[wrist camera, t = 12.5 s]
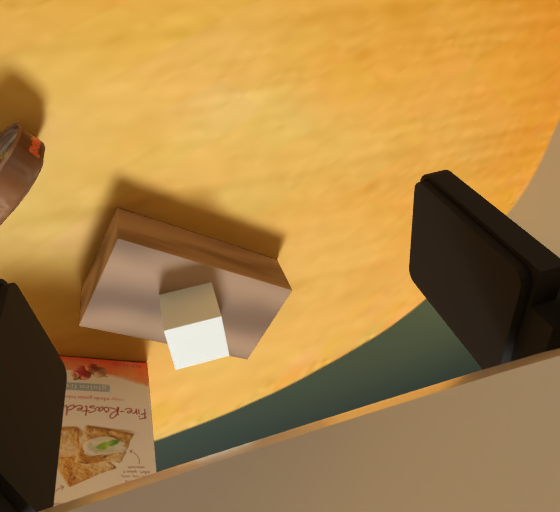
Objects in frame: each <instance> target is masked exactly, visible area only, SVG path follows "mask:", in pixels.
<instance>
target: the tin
mask: <svg viewBox="0 0 560 512" xmlns="http://www.w3.org/2000/svg"><path fill="white" fill-rule="evenodd" d="M44 152H45V146H44V143H43V142H41V141H40V140H39V139H37V138H36V137H35V136H33V135H32V134H30V133H29V132H27V131H26V130H24V129H23V128H22V127H21V125H20V124H18V123H17V124H13V125H11V126H10V127H8V128H7V129H5V130H4V131H3V132H2V133H1V134H0V225H1V224H2V223H3V222H4V221H5V220H6V218H7V217H8V216H9V215H10V214H11V213H12V212H13V211H14V210H15V208H16V207H17V206H18V205H19V204H20V202H21V201H22V200H23V198H24V197H25V196H26V194H27V193H28V192H29V190H30V188H31V187H32V185H33V184H34V182H35V180H36V179H37V177H38V175H39V173H40V171H41V168H42V166H43V158H44Z"/></svg>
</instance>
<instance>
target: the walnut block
mask: <svg viewBox="0 0 560 512" xmlns="http://www.w3.org/2000/svg"><path fill="white" fill-rule="evenodd" d="M210 282H212V285H213V289H214V292H215V296H216V299H217V303H218V306H219V310H220V313H221V317H222V322H223V327H224V331H225V336H226V341H227V346H228V351H229V356H233V357H238V358H243V359H248V357H249V356H250V354H251V353H252V351H253V350H254V348H255V347H256V345H257V344H258V342H259V341H260V339H261V338H262V336H263V334H264V333H265V331H266V330H267V328H268V327H269V325H270V324H271V322H272V321H273V319H274V318H275V316H276V315H277V313H278V312H279V310H280V308H281V307H282V305H283V304H284V302H285V301H286V299H287V298H288V296H289V295H290V293H291V292H292V289H291V287H290V285H289V283H288V281H287V279H286V277H285V275H284V273H283V271H282V269H281V267H280V265H279V263H278V261H277V260H276V259H273V258H270V257H267V256H264V255H261V254H258V253H255V252H252V251H249V250H246V249H243V248H240V247H237V246H234V245H231V244H228V243H225V242H222V241H219V240H216V239H212V238H209V237H206V236H203V235H200V234H197V233H194V232H191V231H188V230H185V229H182V228H179V227H176V226H173V225H170V224H167V223H164V222H161V221H158V220H155V219H152V218H149V217H146V216H143V215H140V214H137V213H134V212H130V211H127V210H124V209H121V208H118V207H117V208H116V210H115V213H114V215H113V217H112V220H111V222H110V224H109V227H108V229H107V231H106V233H105V236H104V238H103V240H102V243H101V245H100V247H99V250H98V252H97V254H96V256H95V259H94V261H93V263H92V266H91V268H90V270H89V272H88V275H87V277H86V279H85V282H84V284H83V286H82V289H81V301H80V315H79V326H82V327H87V328H92V329H97V330H102V331H107V332H112V333H117V334H122V335H127V336H132V337H137V338H142V339H147V340H152V341H157V342H162V343H167V340H166V337H165V333H164V329H163V322H162V314H161V307H160V299H159V295H160V294H164V293H168V292H173V291H177V290H181V289H185V288H189V287H193V286H198V285H202V284H206V283H210ZM167 344H168V343H167Z"/></svg>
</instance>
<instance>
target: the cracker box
mask: <svg viewBox="0 0 560 512" xmlns="http://www.w3.org/2000/svg"><path fill="white" fill-rule="evenodd" d="M60 358H61V359H62V361H63V363H64V365H65V368H66V372H67V383H66V393H65V402H64V411H63V421H62V430H61V440H60V449H59V458H58V468H57V477H56V487H55V496H54V506H57V505H60V504H63V503H65V502H68V501H71V500H74V499H77V498H80V497H83V496H86V495H89V494H92V493H95V492H98V491H101V490H104V489H107V488H110V487H113V486H116V485H119V484H122V483H125V482H128V481H132V480H135V479H138V478H141V477H144V476H147V475H150V474H153V473H156V463H155V451H154V439H153V426H152V414H151V401H150V389H149V378H148V367H147V363H142V362H128V361H115V360H102V359H90V358H79V357H66V356H60ZM54 506H53V507H54Z"/></svg>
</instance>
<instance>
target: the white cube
mask: <svg viewBox="0 0 560 512" xmlns="http://www.w3.org/2000/svg"><path fill="white" fill-rule="evenodd" d="M159 299H160V307H161V314H162V322H163V329H164V333H165V337H166V340H167V343H168V346H169V350H170V353H171V356H172V359H173V362H174V366H175V369H176V370H178V369H181V368H185V367H189V366H192V365H196V364H200V363H203V362H207V361H211V360H215V359H218V358H222V357H226V356H229V351H228V346H227V341H226V336H225V331H224V327H223V322H222V317H221V313H220V310H219V306H218V303H217V299H216V296H215V292H214V289H213V285H212V282H210V283H206V284H202V285H198V286H193V287H189V288H185V289H181V290H177V291H173V292H168V293H164V294H160V295H159Z"/></svg>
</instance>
